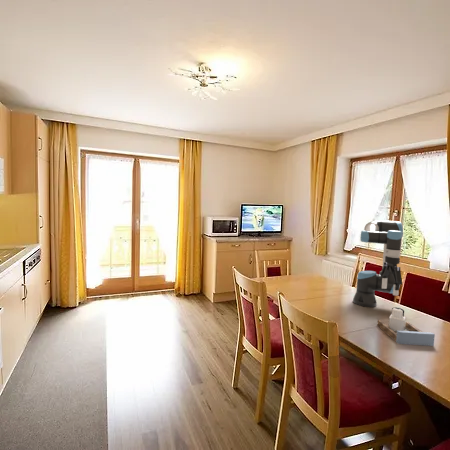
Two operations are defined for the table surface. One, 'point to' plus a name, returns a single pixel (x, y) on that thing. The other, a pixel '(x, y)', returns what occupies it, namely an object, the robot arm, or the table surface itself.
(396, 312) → the medicine bottle
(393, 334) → the guide channel
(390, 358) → the table surface
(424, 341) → the end stop
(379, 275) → the robot arm
